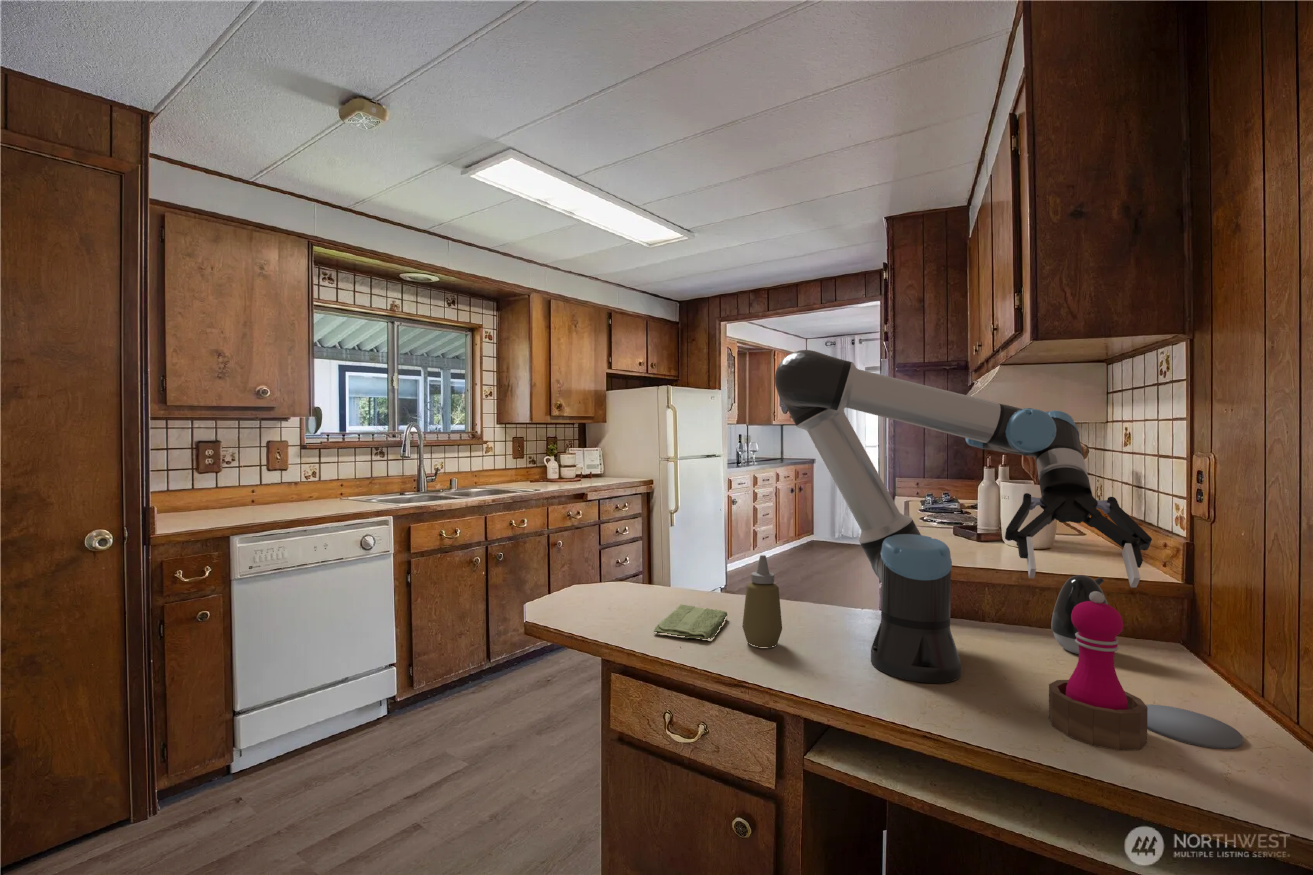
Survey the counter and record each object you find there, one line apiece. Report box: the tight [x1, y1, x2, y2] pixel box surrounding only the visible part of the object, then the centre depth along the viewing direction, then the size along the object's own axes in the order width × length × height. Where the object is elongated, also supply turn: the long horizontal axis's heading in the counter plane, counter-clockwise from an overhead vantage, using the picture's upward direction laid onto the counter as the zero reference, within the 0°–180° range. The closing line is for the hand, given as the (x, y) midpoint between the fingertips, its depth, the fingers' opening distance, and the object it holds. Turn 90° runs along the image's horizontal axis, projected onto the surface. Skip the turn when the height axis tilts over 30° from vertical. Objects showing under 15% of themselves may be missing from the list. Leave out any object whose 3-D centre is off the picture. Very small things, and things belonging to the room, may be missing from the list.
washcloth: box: [653, 603, 728, 639], centre depth 129 cm, size 13×18×3 cm
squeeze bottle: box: [742, 554, 783, 647], centre depth 118 cm, size 8×8×18 cm
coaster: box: [1145, 704, 1244, 750], centre depth 85 cm, size 12×12×1 cm
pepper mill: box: [1066, 591, 1128, 710], centre depth 84 cm, size 7×7×20 cm
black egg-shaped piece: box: [1050, 574, 1109, 655], centre depth 116 cm, size 10×10×15 cm
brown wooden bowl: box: [1048, 679, 1148, 751], centre depth 84 cm, size 11×11×5 cm
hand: (1082, 578), depth 94 cm, fingers open, 13 cm apart
